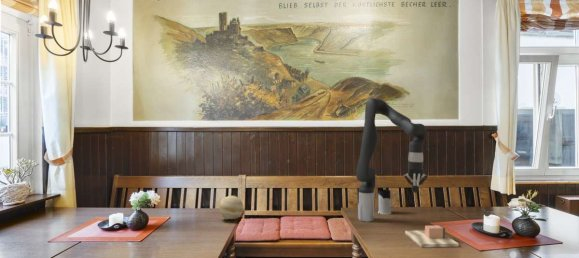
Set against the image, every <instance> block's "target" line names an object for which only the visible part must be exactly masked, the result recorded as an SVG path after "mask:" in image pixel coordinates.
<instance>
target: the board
mask: <svg viewBox="0 0 579 258" xmlns="http://www.w3.org/2000/svg"><path fill="white" fill-rule="evenodd" d="M404 232H405V233H404V234H405V235H406V236H407V237H408V238H410V240H412V241H413V242H414V243H415V244H416V245H418V246H419V247H420V248H421V249H422V248H457V247H458V248H459V247H460V246H459V242H457V241H455V239H453V238H451V237H449V236H448V235H446V234H445V238H428V237H427V236H425V229H424V230H405V231H404Z"/></svg>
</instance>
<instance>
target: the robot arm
mask: <svg viewBox="0 0 579 258" xmlns="http://www.w3.org/2000/svg"><path fill="white" fill-rule="evenodd" d="M376 115H382V116H384V117H387V119H389V121H390V122H391V123H392V124H393V125H395V126H396V127H398V128H400V129H401V130H402V131H403V132H404V133H405V134H406V135H408V136H410V137H412V139H413V140H412V141H410V142H409V144H408V148H409V149H408V156H407V157H408V158H407V159H408V161H407V162H408V166H407V167H408V168H407V169H408V170H407V171H406V172H407V173H405V174H403V178H404V179H405V181H406V182H407V183H408V184H409V185H410V186H411V191H412V193H415V194H416V193H418V192H419V186H422V184H423V183H424V182H426V180H427V179H428V178H429V177H428V176H427V174H425V173H424V142H425V139H426V136H427V128H426V126H425V125H424V124H423V123H413V122H412V120H411V119H410V118H409V117H407V116H406V115H404V114H402V113H400V112H398V111H397V110H396V109H394V108H392V107H391V106H390V105H389V104H388V103H387V102H386V101H385V100H383V99H381V98H371V97H370V98H368V100H367V101H366V103H365V110H364V125H363V133H362V138H361V145H360V146H361V147H360V153H359V157H358V158H359V159H358V163H357V165H356V172H355V175H356V176H355V177H356V179H357V180H358V181H359V182H361V184H360V186H359V187H358V203H357V219H358V220H359V221H360V222H366V223H367V222H369V223H370V222H374V221H375V188H376V171H375V168H374V167H373V166H370V164H371V163H370V162H371V160H372V157H373V155H374V153H375V151H376V149H377V146H378V142H379V133H378V129H377V126H376Z"/></svg>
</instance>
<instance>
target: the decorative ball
mask: <svg viewBox="0 0 579 258" xmlns="http://www.w3.org/2000/svg"><path fill="white" fill-rule="evenodd" d="M243 211H244V204H243V201H242V199H241V198H239V197H238V196H236V195H228V196H226V197H224V198H223V199H222V200H221V202H220V204H219V213H220V215H221V217H223V218H224V219H225V220H228V219H234V220H236V219H238V218H239V217H241V215H242V213H243Z"/></svg>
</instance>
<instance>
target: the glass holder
mask: <svg viewBox="0 0 579 258" xmlns="http://www.w3.org/2000/svg"><path fill="white" fill-rule="evenodd" d="M395 193H396V194H397V199H396V202H395V203H394V204H393V205H392V206H391V204H392V201H391V199H393V198H394V194H395ZM399 195H400V194H399V193H398V191H394V192H392V195H391V190H390V189H379V190H378V196H377V197H378V211H377V213H378V214H379V213H380V214H379V215H392V212H391V211H392V209H393V207H395V206H396V204H397V203H398V201H399V198H400V196H399Z"/></svg>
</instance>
